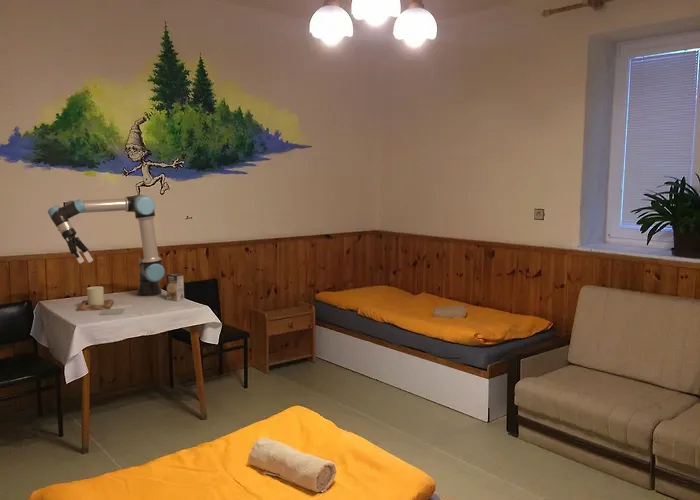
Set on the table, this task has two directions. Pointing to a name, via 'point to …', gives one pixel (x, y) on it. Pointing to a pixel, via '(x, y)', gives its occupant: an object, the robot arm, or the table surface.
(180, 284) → the coffee box
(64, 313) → the table surface
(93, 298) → the can
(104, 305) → the puzzle board
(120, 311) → the mat
